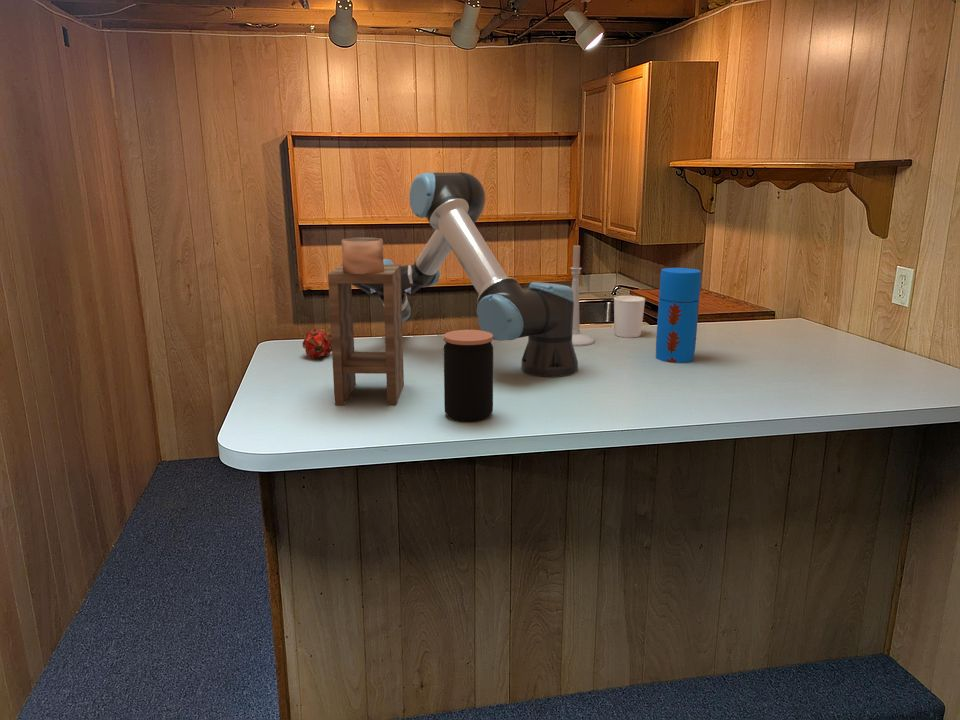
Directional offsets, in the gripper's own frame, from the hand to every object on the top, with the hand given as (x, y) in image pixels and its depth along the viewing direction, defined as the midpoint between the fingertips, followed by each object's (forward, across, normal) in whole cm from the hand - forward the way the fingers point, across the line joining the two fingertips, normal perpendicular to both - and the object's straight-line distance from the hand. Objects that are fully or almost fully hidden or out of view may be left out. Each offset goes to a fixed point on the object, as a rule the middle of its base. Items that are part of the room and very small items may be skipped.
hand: (384, 269), depth 194 cm
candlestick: (-35, -55, -10) cm, 66 cm away
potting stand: (+12, 0, -37) cm, 39 cm away
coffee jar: (+24, -24, -44) cm, 56 cm away
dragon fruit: (-18, +20, -20) cm, 33 cm away
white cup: (-43, -73, -5) cm, 85 cm away
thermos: (-18, -81, -20) cm, 85 cm away
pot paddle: (+23, 0, -8) cm, 25 cm away
